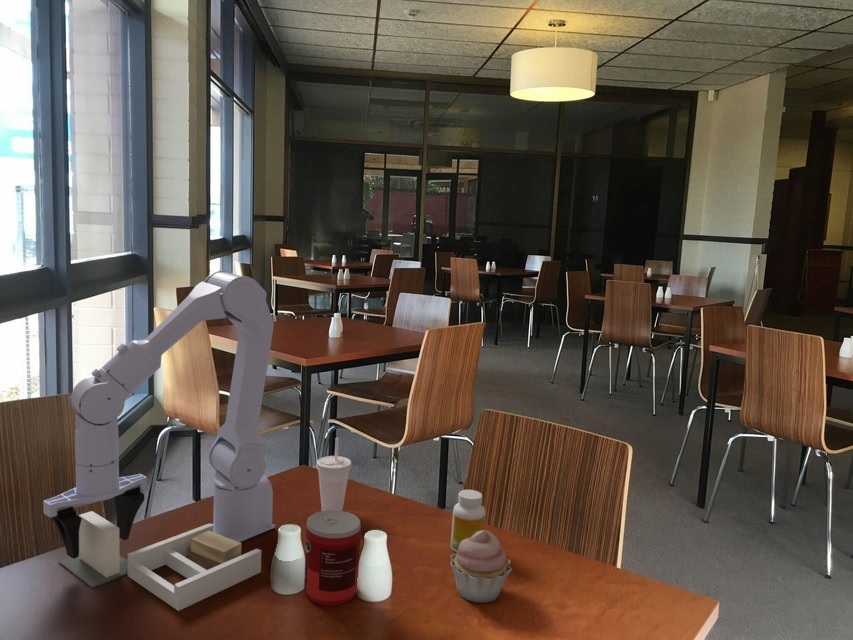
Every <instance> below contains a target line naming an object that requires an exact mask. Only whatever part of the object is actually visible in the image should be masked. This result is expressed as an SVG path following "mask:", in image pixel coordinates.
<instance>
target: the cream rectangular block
mask: <svg viewBox="0 0 853 640" xmlns="http://www.w3.org/2000/svg"><path fill="white" fill-rule="evenodd" d="M78 516H79V517H80V518H82V520H81V524H80V529H79V554H80V559H81V560H83V561H84V562H85V563H87V564H88V565H90V566H91V567H92V568H94V569H95V570H96V571H98V572H99V573H101V574H102V575H103V576H105V577H106V578H107V577H109V576H112V575H114V574H117V573H120V556H121V555H120V553H121V552H120V537H119V527H117V525H116V524H114V523H112V522H110V521H109V520H108V519H105V518H104V517H102V516H101V515H99V514H98V513H96V512H94V511H93V510H91V511H88V512H84V513H81V514H79V515H78Z"/></svg>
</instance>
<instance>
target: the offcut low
mask: <svg viewBox="0 0 853 640" xmlns="http://www.w3.org/2000/svg"><path fill="white" fill-rule="evenodd" d="M187 559H189V560H191V561H192V562H194V563H196V564H197V565H199V566H201V567H202V568H204V569H206V570H209V569H211V568H213V567H216V566H218V565H220V564H221V563H218V562H216V561H213V560H211V559H209V558H206V557H204V556H201V555H199V554H197V553H194V552H192V551H191V546H190V547H188V556H187Z"/></svg>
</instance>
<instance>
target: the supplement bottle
mask: <svg viewBox="0 0 853 640" xmlns="http://www.w3.org/2000/svg"><path fill="white" fill-rule="evenodd" d="M482 504H483V494H482V493H481V492H480V491H477V490H475V489H463V490H460V491H459V492H458V496H457V503H456V504H455V505H454V506H453V509H452V510H453V511H452V519H451V521H452V523H451V534H450V535H451V536H450V549H452V551H454V552H455V554H457V551H458V550H459V545H460V543H461V541H462V540H464V539H467V538H471V537H472V535H474V534H475V533H476V532H478V531H482V530H485V520H486V519H485V518H486V510H485V507H484V506H483V505H482Z"/></svg>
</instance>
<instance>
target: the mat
mask: <svg viewBox="0 0 853 640" xmlns="http://www.w3.org/2000/svg"><path fill="white" fill-rule="evenodd" d="M58 563H59V564H60V566H62V567H64V568H65V569H66V570H68V571H69V572H70V573H72V574H73V575H74V576H75V577H77V578H78V579H80V580H81V581H82V582H83V583H85V584H86V585H87V586H89V587H90V588H91V589H93V588H96V587H98V586H102V585H104V584H106V583H108V582H112V581H115V580H116V579H118V578H121V577H124V576H126V575H127V576H128V559H126V558H125V557H124V556H122V555H120V573H117V574H114V575H112V576H109V577H107V578H106V577H105V576H103V575H102V574H101V573H99V572H98V571H96V570H95V569H94V568H92V567H91V566H90V565H88V564H87V563H85V562H84V561H83V560H81V559H80V553H79V555H78V557H77V558H74V559H73V558H71V557H70V556H69V557H68V558H65V559H61V560H59V561H58Z"/></svg>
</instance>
